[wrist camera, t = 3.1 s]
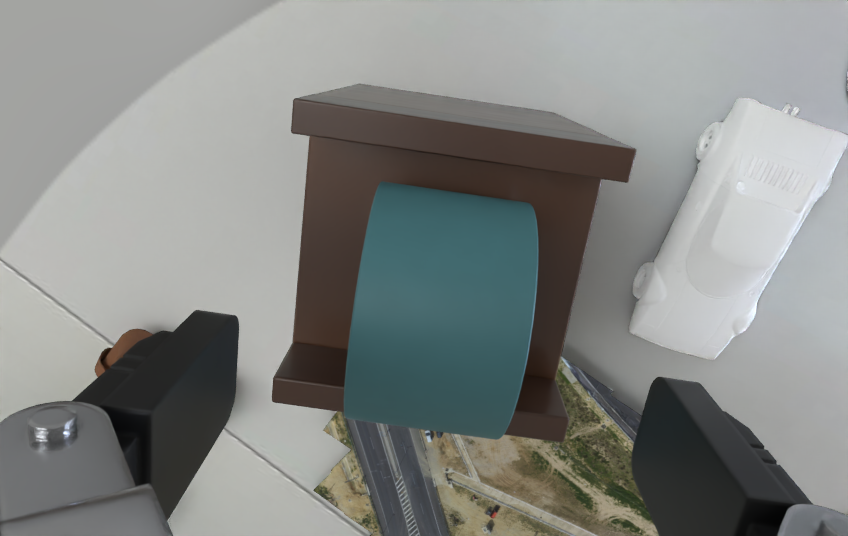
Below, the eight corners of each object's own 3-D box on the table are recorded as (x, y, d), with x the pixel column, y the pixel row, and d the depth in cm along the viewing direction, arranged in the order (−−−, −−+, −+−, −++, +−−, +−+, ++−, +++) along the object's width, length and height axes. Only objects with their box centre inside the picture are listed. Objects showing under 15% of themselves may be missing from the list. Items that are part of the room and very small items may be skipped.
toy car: (609, 320, 31) (628, 349, 28) (722, 82, 27) (758, 85, 24) (709, 353, 31) (739, 386, 28) (833, 124, 28) (884, 132, 25)
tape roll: (389, 152, 18) (357, 236, 13) (523, 172, 18) (553, 265, 13) (368, 335, 21) (334, 472, 15) (485, 352, 21) (495, 494, 15)
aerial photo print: (264, 533, 36) (256, 554, 34) (416, 261, 30) (415, 272, 29) (631, 697, 39) (639, 723, 37) (830, 476, 33) (848, 496, 32)
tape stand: (357, 83, 28) (292, 97, 16) (555, 112, 28) (637, 149, 16) (338, 271, 31) (270, 402, 19) (518, 297, 31) (564, 444, 19)
